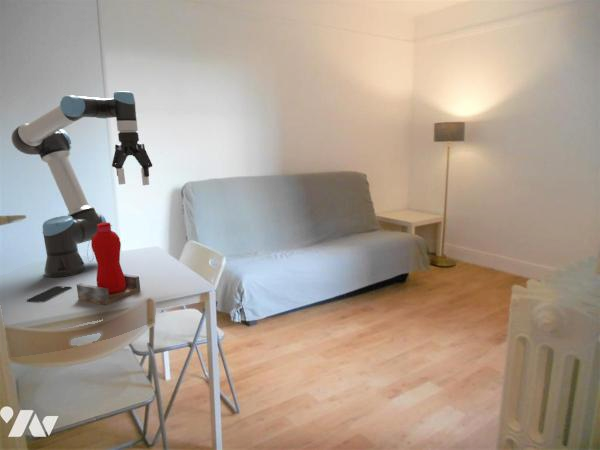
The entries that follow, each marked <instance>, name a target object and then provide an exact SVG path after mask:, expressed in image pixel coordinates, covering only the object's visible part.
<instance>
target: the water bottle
mask: <svg viewBox="0 0 600 450" xmlns="http://www.w3.org/2000/svg"><path fill="white" fill-rule="evenodd" d="M112 226H113V224H111V222H109V221H108V222H107V221H106V222H105V223H100V224H98V225H97V230H96V231H97V232H96V233H95V234H94V235H93V236H92V238H91V239H92V240H90V241H88V244H87V245H88V246H87V247H89V245H91V250H92V253H93V255H94V257H95V260H96V263H97V267H96V269H97V270H96V287H102V288H107V289H108V293H109V294H112V293H117V292H121V291H123V290H124V289H125V288H126V283H125V277H124V274H125V273H124V272H123V269H122V265H121V263H120V261H121V260H120V258H121V244H122V243H121V240H120V237H119V235H118V234H117V233H116V232H114V231H113V230H112ZM88 252H89V250H87V252H86V253H87V254H86V256H87V258H89V256H88V255H89V254H88ZM93 260H94V259H92V260H89V262H93Z"/></svg>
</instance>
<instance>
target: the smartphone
mask: <svg viewBox="0 0 600 450" xmlns="http://www.w3.org/2000/svg"><path fill="white" fill-rule="evenodd" d="M71 289H73V287H72V286H64V285H63V286H61V285H60V286H59V285H57V286H54V287H51V288H49V289H47V290H45V291H42V292H41V293H40V292H39V294H36V295H34V296H33V297H30V298H28V299H26V300H25V301H27V303H39V302H42V303H45V302H48V301H50V300H52V299H54V298H55V297H58V296H60V295H61V294H64V293H65V292H67V291H70V290H71Z"/></svg>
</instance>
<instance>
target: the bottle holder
mask: <svg viewBox="0 0 600 450" xmlns="http://www.w3.org/2000/svg"><path fill="white" fill-rule="evenodd" d="M123 274H124V277H125V283H126V288H125V289H124V290H123V291H121V292H117V293H112V294H109V293H108V289H107V288H102V287H97V285H96V286H95V285H90V284H84V283H78V284H76V291H77V299H78V300H79V301H83V302H88V303H94V304H98V305H101V306H102V305H103V306H109V305H111V304H113V303H115V302H118V301H120V300H123V299H125V298H126V297H129V296H131V295H133V294H136V293H138V292H140V291H141V283H140V276H138V275H132V274H127V273H123Z"/></svg>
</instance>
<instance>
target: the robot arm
mask: <svg viewBox="0 0 600 450" xmlns="http://www.w3.org/2000/svg"><path fill="white" fill-rule="evenodd" d="M59 104H60V105H58V106H57V107H55V108H53V109H52V110H49V111H47V113H45V114H43V115H41V116H39V117H38V118H37V119H35V120H33V121H32V122H30V123H22V124H21V125H19V126H17V127H16V128H15V129H14V130H13V132H12V134H11V142H12V144H13V146H14V148H15V149H16V150H17V151H19V152H20V153H23V154H25V155H30V156H31V155H35V156H36V155H38V156H39V157H40V159H41V161H42V162H44V163H46V164H47V165H48V167H49V169H50V172H51V174H52V176H53V179H54V181H55V183H56V185H57V187H58V190H59V193H60V195H61V197H62V199H63V202H64V204H65V206H66V208H67V211H68V214H67V215H62V216H56V217H52V218H49V219H48V220H45V221H44V222H43V224H42V235H43V238H44V241H43V242H44V245H45V251H46V261H45V264H44V270H43V271H44V276H45V277H49V278H61V277H68V276H72V275H75V274H79V273H81V272H83V271H84V270H85V269H86V265H85V262H84V259H82V256H81V255H80V253H79V250H78V245H79V244H83V243H87V242H89V241H90V242H91V241H92V239H91V238H92V236H93V235H94V234H95V233H96V232H97V231H96V230H97V225H98V224H100V223H105V222H107V220H106V217H105V216H104V215H103V214H102V213H101V212H96V209H95V208H94V207H93V206H90V204H89V202H88V200H87V198H86V196H85V195H86V194H85V193H84V191H83V189H82V186H81V184H80V182H79V179H78V177H77V174H76V173H75V170H74V169H73V166H72V163H71V162H70V159H69V156H70V155H71V153H70V151H71V149H72V140H71V138H70V135H69V134H68V133H67V131H65V130H64V128H66V127H68V126H69V125H72V124H73V123H75V122H77V121H78V120H81V119H82V118H97V119H109V118H111V119H112V118H116V127H117V131H118V133H117V134H118V142H119V143H120V144H118V143H117V144H115V146H114V149H115V150H114V155H113V159H112V164H111V167H112V168H115V169H116V176H117V179H118V181H117V182H118V185H126V177H125V169H124V167H123V166H124V164H125V163H126V161H127V158H128V157H129V156H133V157H134V158H135V160H136V161H137V162H138V164H139V165H140V166H141V169H140V172H141V179H142V180H141V181H142V186H148V185H150V180H149V179H150V178H149V177H150V170H149V169H150V168H152V167H153V163H152V161H151V159H150V157H149V155H148V153H147V151H146V148H145V144H144V143H138V142H139V141H140V139H139V133H138V132H137V131H138V130H139V129H138V120H137V111H136V101H135V96H134V93H133V92H131V91H120V90H119V91H115V92H113V97H112V98H111V97H110V98H103V97H102V98H100V97H91V96H90V97H88V96H80V95H64V96H62V98H61V100H60V103H59Z"/></svg>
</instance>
